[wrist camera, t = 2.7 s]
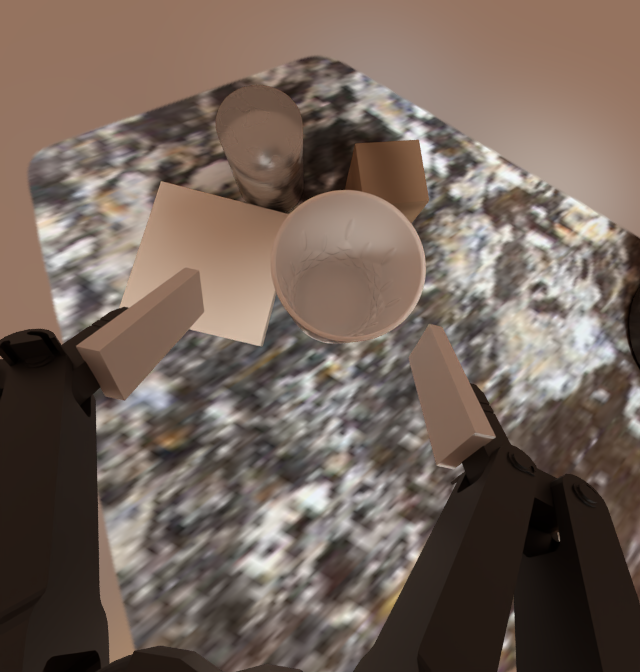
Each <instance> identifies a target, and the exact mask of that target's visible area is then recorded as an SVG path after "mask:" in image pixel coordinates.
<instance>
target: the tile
mask: <svg viewBox="0 0 640 672" xmlns="http://www.w3.org/2000/svg"><path fill="white" fill-rule="evenodd" d="M288 215H289V214H287V213H283V212H279V211H275V210H271V209H267V208H263V207H259V206H256V205H252V204H248V203H244V202H240V201H236V200H232V199H228V198H224V197H220V196H217V195H213V194H209V193H205V192H201V191H197V190H193V189H189V188H185V187H182V186H178V185H174V184H170V183H166V182H162V181H161V183H160V186H159V189H158V192H157V196H156V199H155V202H154V205H153V208H152V211H151V214H150V217H149V220H148V223H147V226H146V229H145V232H144V235H143V238H142V241H141V244H140V247H139V250H138V253H137V256H136V259H135V262H134V265H133V268H132V271H131V274H130V277H129V280H128V283H127V286H126V289H125V292H124V295H123V298H122V301H121V305H120V308H122V307H128V308H129V307H131V306H132V305H134V304H135V303H136V302H138V301H139V300H141V299H142V298H143V297H145V296H146V295H148V294H149V293H150V292H152V291H153V290H154V289H156V288H157V287H159V286H160V285H161V284H163V283H164V282H166V281H167V280H168V279H170V278H171V277H173V276H174V275H175V274H177V273H178V272H179V271H181V270H182V269H184V268H185V267H186V268H190V269H195V270H199V273H200V281H201V289H202V297H203V305H204V313H203V314H202V315H201V316H200V317H199V319H198V320H197V321H196V322H195V323H194V324H193V325H192V326H191V327H190V330H194V331H198V332H203V333H207V334H211V335H215V336H219V337H224V338H228V339H232V340H236V341H241V342H245V343H249V344H253V345H257V346H262V347H263V343H264V339H265V335H266V331H267V328H268V324H269V320H270V316H271V312H272V309H273V305H274V301H275V297H276V291H275V288H274V285H273V281H272V276H271V266H270V261H271V251H272V246H273V242H274V239H275V237H276V234H277V232H278V230H279V228H280V226H281V225H282V223H283V222H284V220H285V219H286V218H287V216H288Z"/></svg>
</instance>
